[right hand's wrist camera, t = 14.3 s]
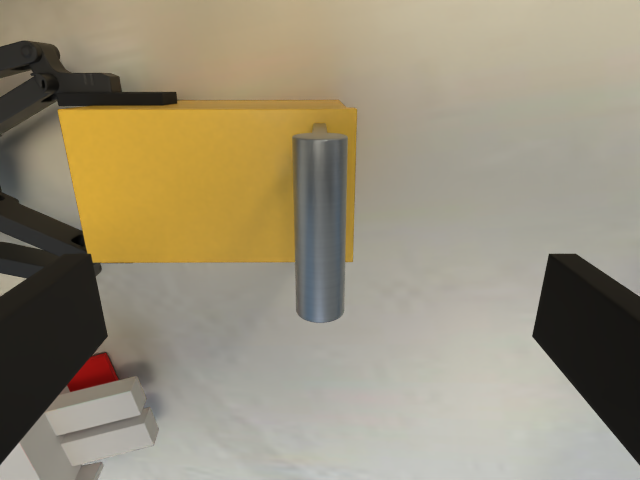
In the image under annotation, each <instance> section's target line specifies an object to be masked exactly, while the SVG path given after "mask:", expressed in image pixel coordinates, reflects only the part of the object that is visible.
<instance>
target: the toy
mask: <svg viewBox="0 0 640 480" xmlns="http://www.w3.org/2000/svg"><path fill="white" fill-rule="evenodd" d="M145 402H146V396H145V394H144V391H143V389H142V387H141V384H140V382H139V379H138V377H137V376H134V377H130V378H126V379H122V380H119V379H118V377H117V375H116V373H115V371H114V369H113V366H112V364H111V362H110V360H109V358H108V356H107V354H106V353H103V354H99V355H96V356H92V357H90V358H89V359H88V361H87V362H86V363H85V364H84V365H83V367H82V368H81V369H80V370H79V371H78V373H77V374H76V375H75V376H74V377H73V379H72V380H71V381H70V382H69V383H68V385H67V386H66V387H65V388H64V389H63V391H62V392H61V393H60V394H59V395H58V397H57V398H56V399H55V400H54V401H53V403H52V404H51V405H50V406H49V407H48V409H47V410H46V411H45V412H44V413H43V415H42V416H41V417H40V418H39V419H38V421H37V422H36V423H35V424H34V425H33V427H32V428H31V429H30V430H29V431H28V432H27V434H26V435H25V436H24V437H23V438H22V440H21V441H20V442H19V443H18V444H17V446H16V447H15V448H14V449H13V450H12V452H11V453H10V454H9V455H8V456H7V458H6V459H5V460H4V461H3V462H2V464H1V465H0V480H97V479H98V477H99V475H100V473H101V471H102V469H103V463H102V462H99V463H93V464H88V465H82V464H84V463H88V462H92V461H96V460H100V459H103V458H107V457H111V456H115V455H119V454H123V453H127V452H131V451H135V450H138V449H142V448H146V447H150V446H154V443H155V440H156V436H157V433H158V430H159V428H158V425H157V423H156V421H155V418H154V416H153V413H152V411H151V408H150V407H148V408H144V409H143V407H144V404H145Z"/></svg>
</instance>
